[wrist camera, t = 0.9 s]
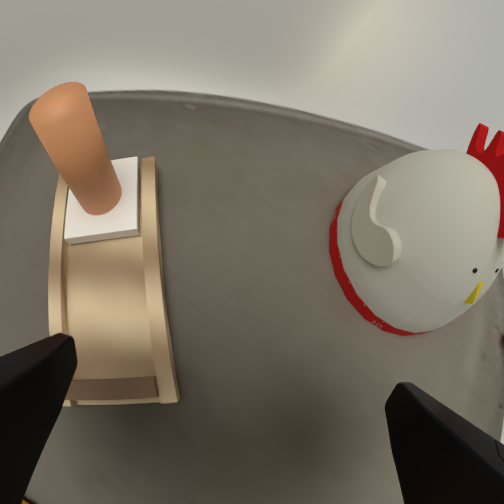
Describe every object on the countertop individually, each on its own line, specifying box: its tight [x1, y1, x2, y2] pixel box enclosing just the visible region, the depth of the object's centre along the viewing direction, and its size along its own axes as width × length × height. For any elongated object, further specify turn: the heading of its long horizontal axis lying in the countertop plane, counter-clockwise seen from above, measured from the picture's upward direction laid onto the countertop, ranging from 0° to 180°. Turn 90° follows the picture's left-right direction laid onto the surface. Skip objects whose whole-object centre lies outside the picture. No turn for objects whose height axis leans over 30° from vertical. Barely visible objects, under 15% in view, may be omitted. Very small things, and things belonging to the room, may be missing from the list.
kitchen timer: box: [329, 123, 504, 336], centre depth 17 cm, size 14×14×15 cm
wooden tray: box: [48, 157, 180, 406], centre depth 18 cm, size 17×8×3 cm, turn 10°
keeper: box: [29, 82, 140, 245], centre depth 16 cm, size 6×5×10 cm
